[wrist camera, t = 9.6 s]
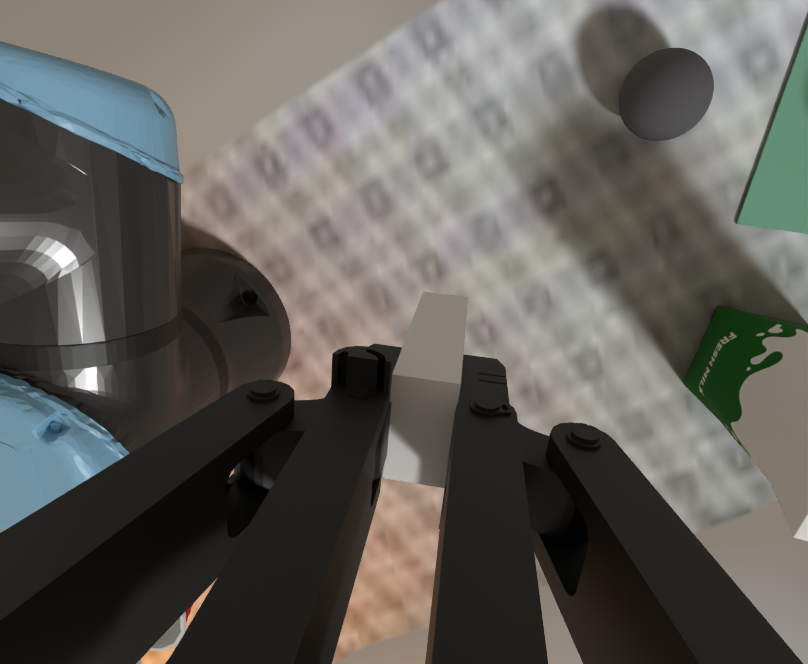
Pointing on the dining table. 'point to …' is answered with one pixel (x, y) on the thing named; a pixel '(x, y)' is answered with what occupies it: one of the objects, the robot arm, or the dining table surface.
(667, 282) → the dining table surface
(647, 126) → the cue ball black
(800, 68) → the green mark
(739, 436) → the milk carton
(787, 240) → the dining table surface
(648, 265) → the dining table surface
